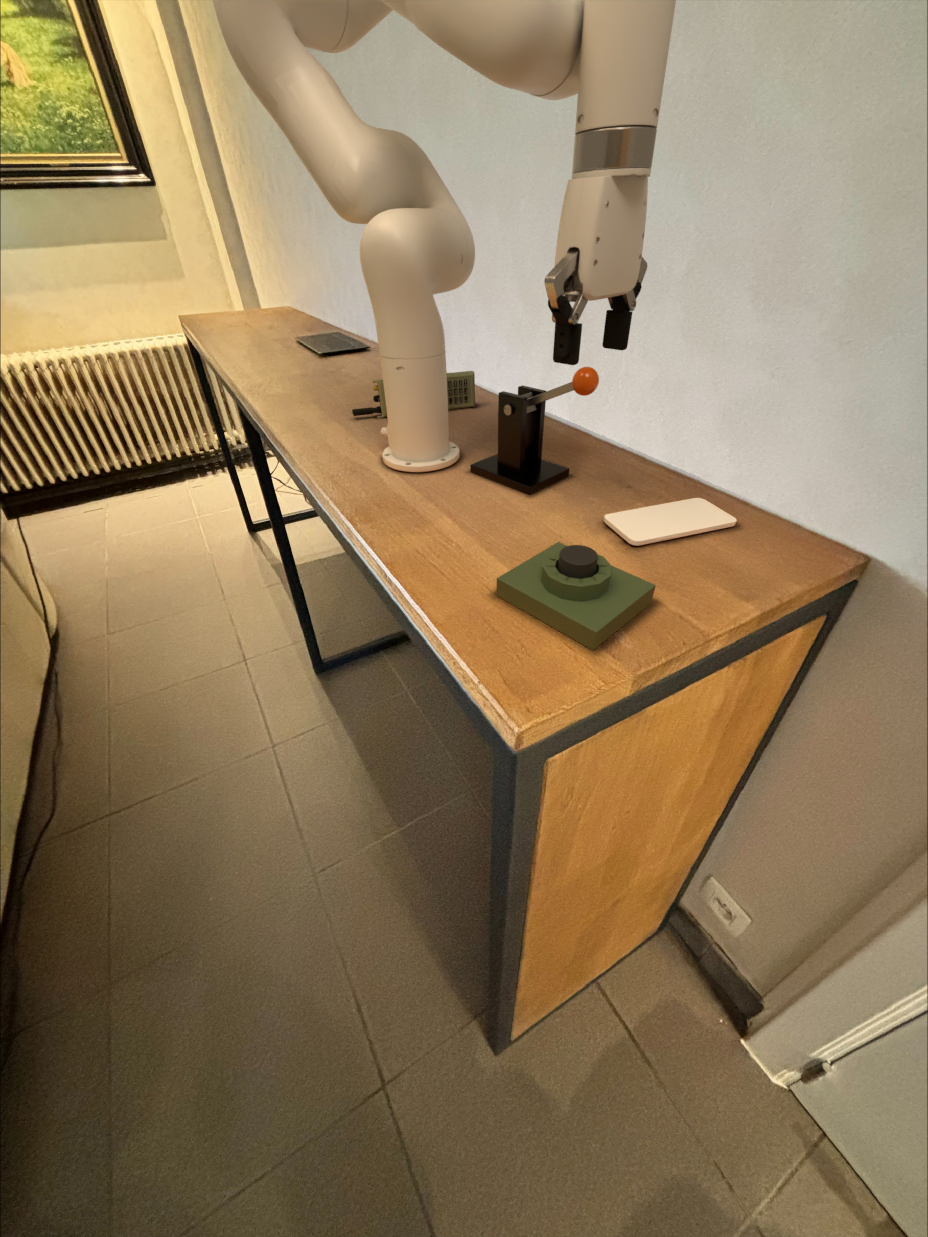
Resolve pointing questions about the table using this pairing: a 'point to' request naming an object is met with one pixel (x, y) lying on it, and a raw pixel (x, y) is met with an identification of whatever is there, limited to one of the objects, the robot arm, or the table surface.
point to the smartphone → (668, 521)
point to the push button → (577, 561)
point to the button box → (575, 596)
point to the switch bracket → (520, 446)
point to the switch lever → (568, 387)
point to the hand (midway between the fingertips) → (590, 355)
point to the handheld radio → (457, 391)
